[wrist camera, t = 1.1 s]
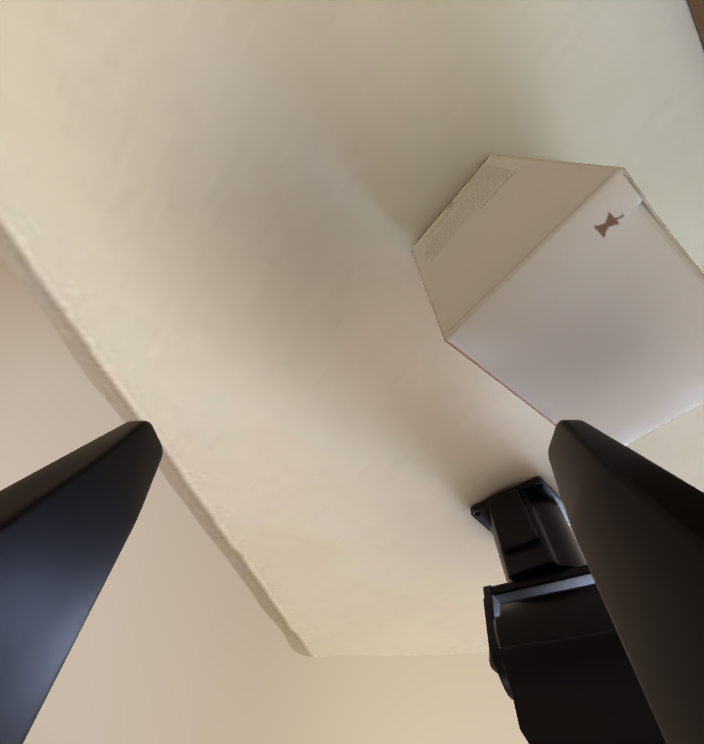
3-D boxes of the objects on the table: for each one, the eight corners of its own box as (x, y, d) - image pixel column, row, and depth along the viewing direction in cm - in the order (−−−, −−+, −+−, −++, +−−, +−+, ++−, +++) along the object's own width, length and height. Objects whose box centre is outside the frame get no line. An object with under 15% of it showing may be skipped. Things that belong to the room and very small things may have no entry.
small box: (408, 247, 19) (435, 338, 10) (491, 150, 16) (623, 157, 7) (507, 332, 21) (599, 467, 12) (594, 259, 19) (787, 363, 10)
